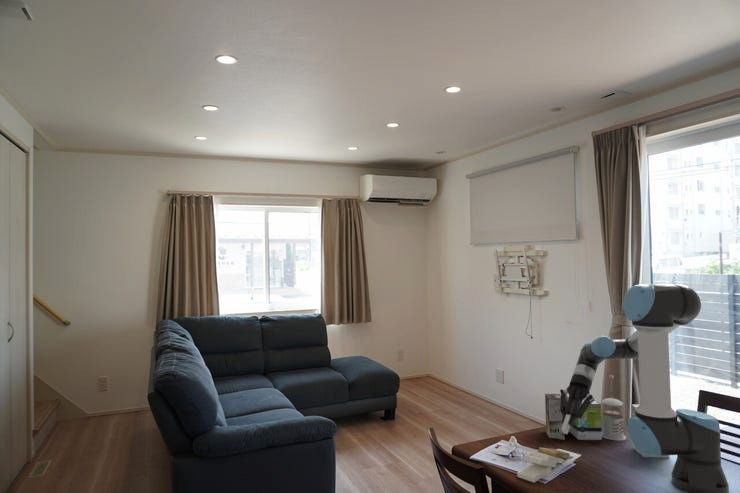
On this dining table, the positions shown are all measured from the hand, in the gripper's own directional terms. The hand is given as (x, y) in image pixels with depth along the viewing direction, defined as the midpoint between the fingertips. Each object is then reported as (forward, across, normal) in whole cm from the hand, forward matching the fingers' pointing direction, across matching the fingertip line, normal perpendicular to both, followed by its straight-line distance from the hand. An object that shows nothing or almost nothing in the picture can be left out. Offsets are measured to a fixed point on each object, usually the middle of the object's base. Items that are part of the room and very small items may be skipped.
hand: (564, 431), depth 179 cm
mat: (+13, 0, 0) cm, 13 cm away
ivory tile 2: (+15, 0, +4) cm, 15 cm away
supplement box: (-11, -21, -24) cm, 34 cm away
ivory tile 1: (+11, 0, +1) cm, 11 cm away
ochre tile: (+7, 0, -4) cm, 8 cm away
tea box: (-13, +5, -26) cm, 29 cm away
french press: (-18, -5, -31) cm, 36 cm away
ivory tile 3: (+18, 0, +7) cm, 19 cm away
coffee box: (-6, +12, -19) cm, 23 cm away
